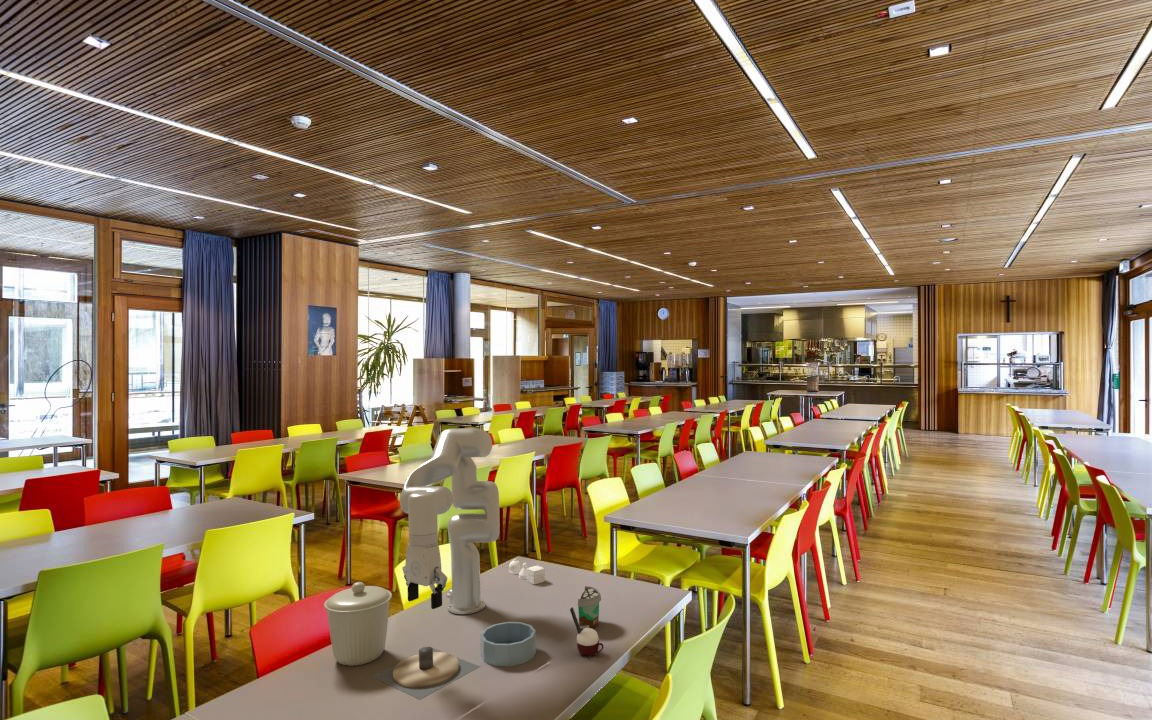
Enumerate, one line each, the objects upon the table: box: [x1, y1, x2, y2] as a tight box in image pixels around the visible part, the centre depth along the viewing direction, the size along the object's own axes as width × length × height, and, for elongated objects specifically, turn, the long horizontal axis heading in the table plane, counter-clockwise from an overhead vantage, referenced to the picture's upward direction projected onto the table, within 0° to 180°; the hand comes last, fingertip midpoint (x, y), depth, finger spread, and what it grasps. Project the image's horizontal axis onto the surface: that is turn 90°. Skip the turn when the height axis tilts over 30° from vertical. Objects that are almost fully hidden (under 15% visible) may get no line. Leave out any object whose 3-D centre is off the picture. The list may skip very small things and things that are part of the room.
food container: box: [577, 585, 602, 631], centre depth 189 cm, size 12×6×10 cm, turn 168°
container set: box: [508, 558, 546, 585], centre depth 235 cm, size 20×5×6 cm, turn 37°
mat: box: [371, 647, 481, 701], centre depth 161 cm, size 20×20×1 cm
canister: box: [323, 581, 393, 667], centre depth 171 cm, size 18×18×21 cm
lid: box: [393, 646, 459, 688], centre depth 161 cm, size 17×17×6 cm
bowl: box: [479, 621, 537, 667], centre depth 170 cm, size 15×15×6 cm
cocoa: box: [569, 607, 605, 658], centre depth 170 cm, size 10×6×12 cm, turn 46°
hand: (424, 603), depth 161 cm, fingers open, 9 cm apart
